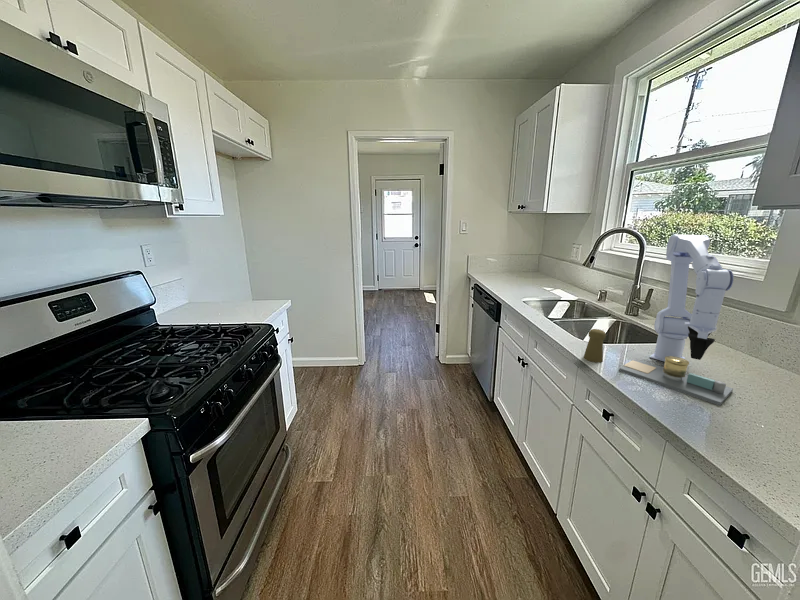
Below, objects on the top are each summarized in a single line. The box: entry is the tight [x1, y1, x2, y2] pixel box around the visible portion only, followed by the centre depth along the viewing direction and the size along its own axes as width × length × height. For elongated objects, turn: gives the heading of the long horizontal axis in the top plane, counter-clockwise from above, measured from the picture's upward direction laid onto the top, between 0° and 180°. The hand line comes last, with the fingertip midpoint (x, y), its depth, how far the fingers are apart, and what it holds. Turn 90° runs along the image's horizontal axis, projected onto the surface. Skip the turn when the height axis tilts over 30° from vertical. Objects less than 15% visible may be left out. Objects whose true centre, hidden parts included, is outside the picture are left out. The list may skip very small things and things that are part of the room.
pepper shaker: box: [583, 328, 607, 364], centre depth 117 cm, size 6×6×11 cm
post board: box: [618, 358, 734, 406], centre depth 103 cm, size 13×25×2 cm, turn 35°
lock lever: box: [687, 372, 727, 393], centre depth 97 cm, size 8×2×3 cm, turn 35°
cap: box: [663, 356, 690, 377], centre depth 102 cm, size 6×6×4 cm
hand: (695, 354), depth 99 cm, fingers open, 7 cm apart
